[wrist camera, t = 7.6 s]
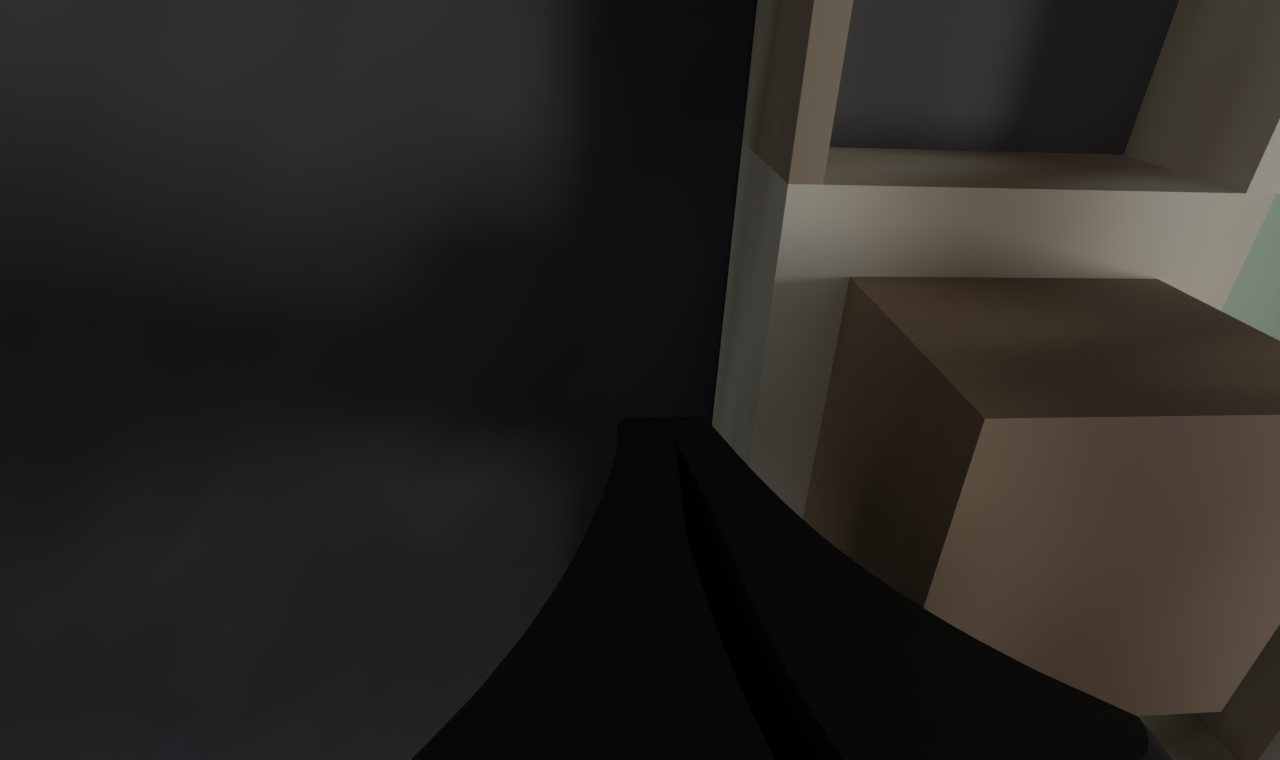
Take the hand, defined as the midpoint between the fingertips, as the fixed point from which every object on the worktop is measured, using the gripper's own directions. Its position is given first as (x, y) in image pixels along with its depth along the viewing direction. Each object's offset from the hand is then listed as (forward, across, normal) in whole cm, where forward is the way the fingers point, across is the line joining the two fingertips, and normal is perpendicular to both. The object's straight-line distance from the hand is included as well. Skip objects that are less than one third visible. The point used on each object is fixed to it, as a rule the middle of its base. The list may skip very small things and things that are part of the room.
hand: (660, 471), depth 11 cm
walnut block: (+1, -5, 0) cm, 5 cm away
